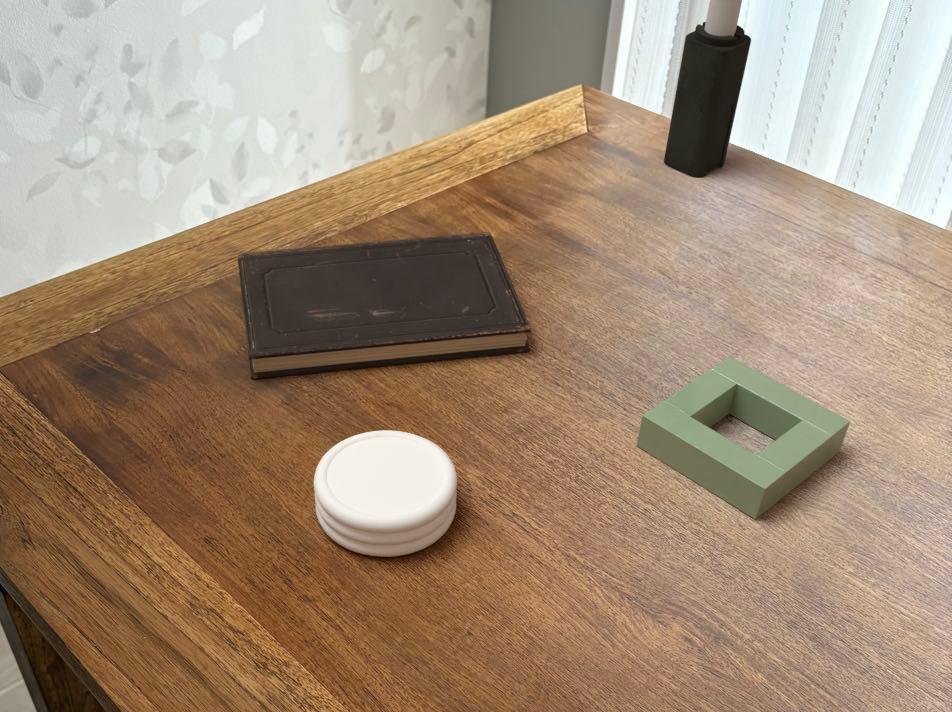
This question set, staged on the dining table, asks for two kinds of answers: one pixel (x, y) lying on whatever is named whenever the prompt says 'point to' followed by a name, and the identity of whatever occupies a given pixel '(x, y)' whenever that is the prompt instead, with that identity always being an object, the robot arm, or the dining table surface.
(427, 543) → the white stacked coasters
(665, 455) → the pad
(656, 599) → the dining table surface
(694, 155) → the black and white post
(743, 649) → the dining table surface
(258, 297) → the hardcover book
